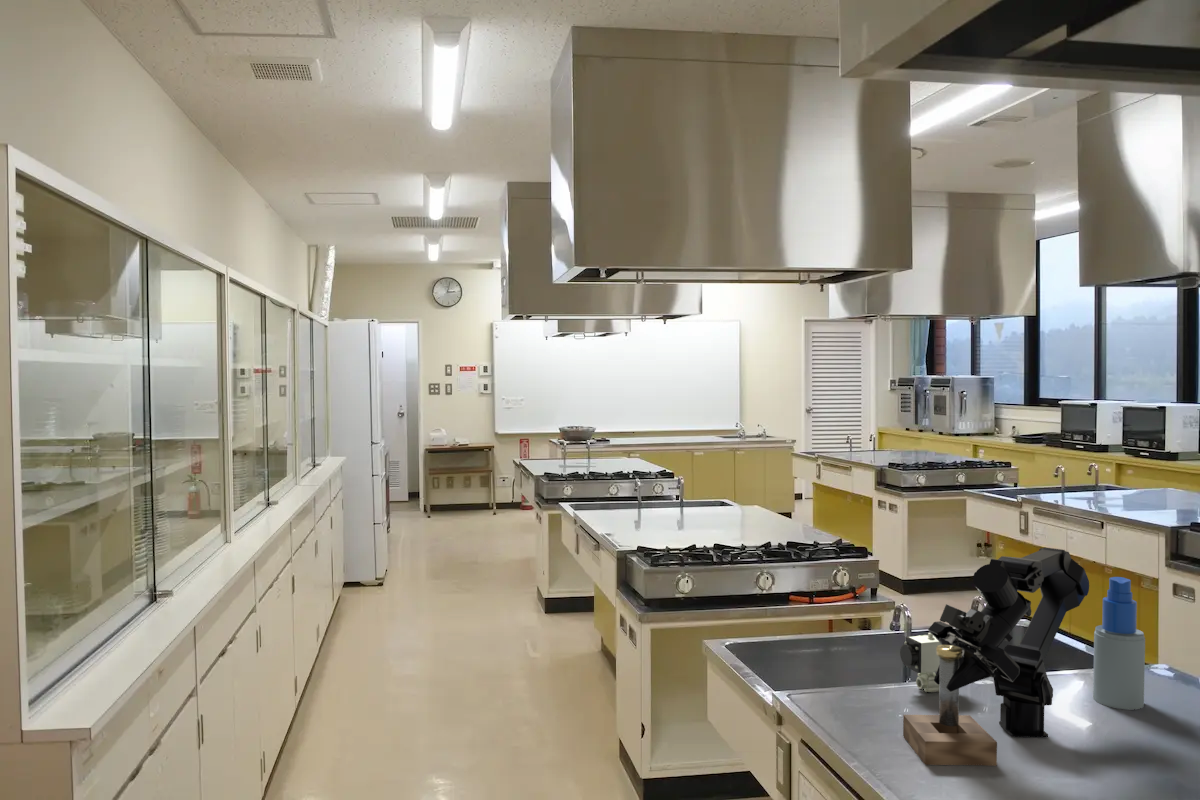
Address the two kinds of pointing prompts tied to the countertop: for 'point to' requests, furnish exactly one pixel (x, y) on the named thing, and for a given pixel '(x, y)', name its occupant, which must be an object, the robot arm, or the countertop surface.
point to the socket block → (949, 741)
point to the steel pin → (946, 671)
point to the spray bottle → (1119, 650)
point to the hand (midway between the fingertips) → (942, 686)
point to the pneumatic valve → (922, 660)
